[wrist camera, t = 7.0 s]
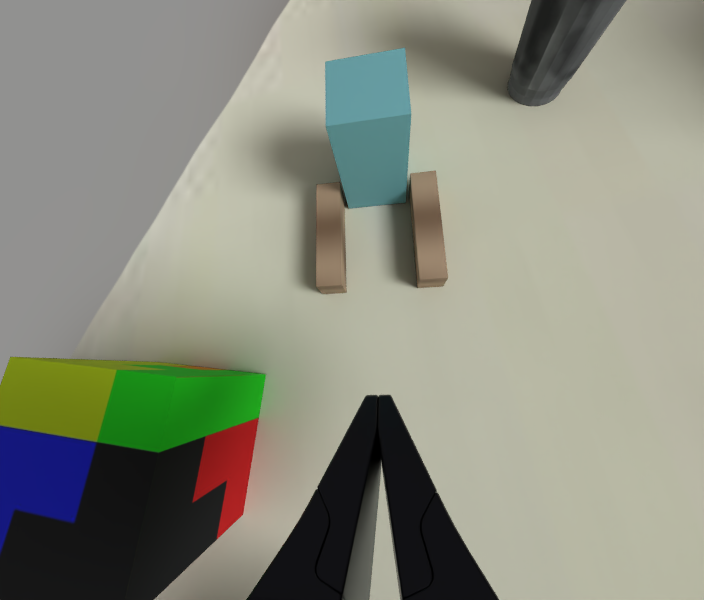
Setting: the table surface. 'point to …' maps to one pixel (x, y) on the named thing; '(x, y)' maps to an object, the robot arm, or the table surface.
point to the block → (370, 126)
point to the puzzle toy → (118, 473)
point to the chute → (423, 225)
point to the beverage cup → (556, 45)
